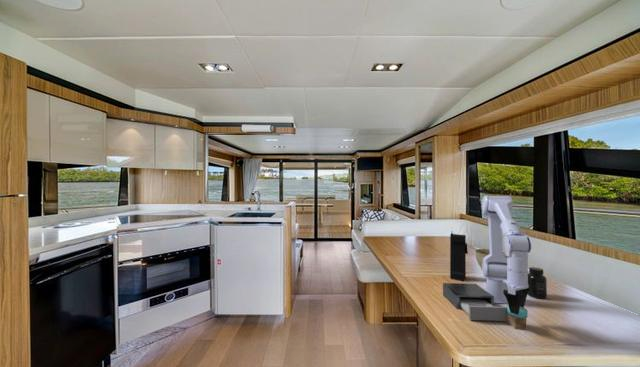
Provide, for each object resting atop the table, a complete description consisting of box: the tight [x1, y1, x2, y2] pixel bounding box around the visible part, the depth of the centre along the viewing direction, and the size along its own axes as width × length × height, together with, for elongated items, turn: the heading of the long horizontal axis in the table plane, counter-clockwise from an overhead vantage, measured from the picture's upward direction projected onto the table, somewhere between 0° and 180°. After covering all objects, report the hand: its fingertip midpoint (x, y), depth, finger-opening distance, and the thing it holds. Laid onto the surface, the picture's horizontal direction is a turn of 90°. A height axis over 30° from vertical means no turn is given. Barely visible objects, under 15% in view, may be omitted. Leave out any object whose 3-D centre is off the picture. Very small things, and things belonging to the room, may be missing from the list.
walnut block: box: [507, 314, 527, 330], centre depth 90 cm, size 4×4×4 cm
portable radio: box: [449, 232, 469, 282], centre depth 137 cm, size 8×6×25 cm
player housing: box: [442, 282, 495, 310], centre depth 109 cm, size 14×13×5 cm
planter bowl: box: [474, 248, 507, 271], centre depth 148 cm, size 16×16×11 cm
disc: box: [506, 304, 528, 319], centre depth 90 cm, size 6×6×2 cm
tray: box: [459, 299, 508, 322], centre depth 99 cm, size 13×13×5 cm
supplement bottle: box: [527, 266, 548, 300], centre depth 115 cm, size 7×7×12 cm
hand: (517, 309), depth 90 cm, fingers open, 7 cm apart
